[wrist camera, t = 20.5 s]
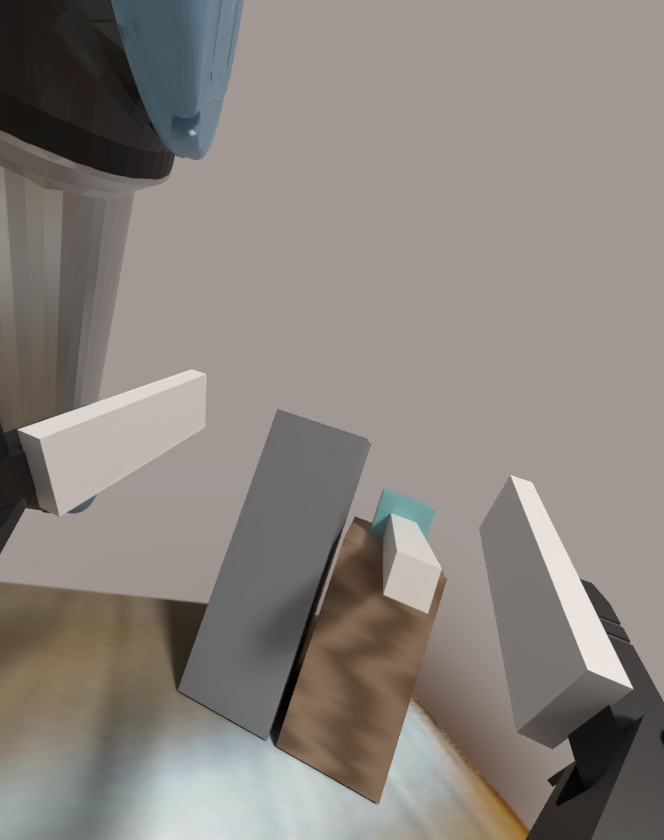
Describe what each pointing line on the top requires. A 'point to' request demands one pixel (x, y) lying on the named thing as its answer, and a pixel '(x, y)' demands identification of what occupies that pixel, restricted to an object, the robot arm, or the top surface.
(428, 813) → the top surface
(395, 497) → the bar
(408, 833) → the top surface
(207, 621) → the tower
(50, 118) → the robot arm
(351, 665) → the tall wooden pillar
